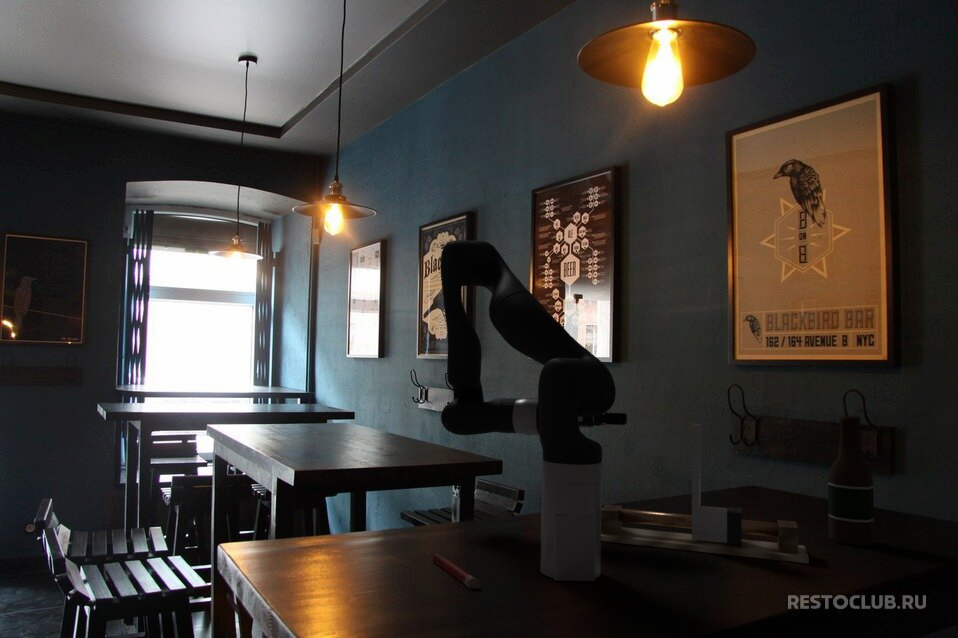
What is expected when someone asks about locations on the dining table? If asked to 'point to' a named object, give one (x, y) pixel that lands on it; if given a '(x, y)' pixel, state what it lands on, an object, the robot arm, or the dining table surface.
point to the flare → (456, 572)
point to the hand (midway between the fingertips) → (626, 419)
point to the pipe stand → (757, 549)
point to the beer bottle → (850, 490)
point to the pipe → (686, 521)
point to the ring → (734, 526)
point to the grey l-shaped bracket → (704, 518)
